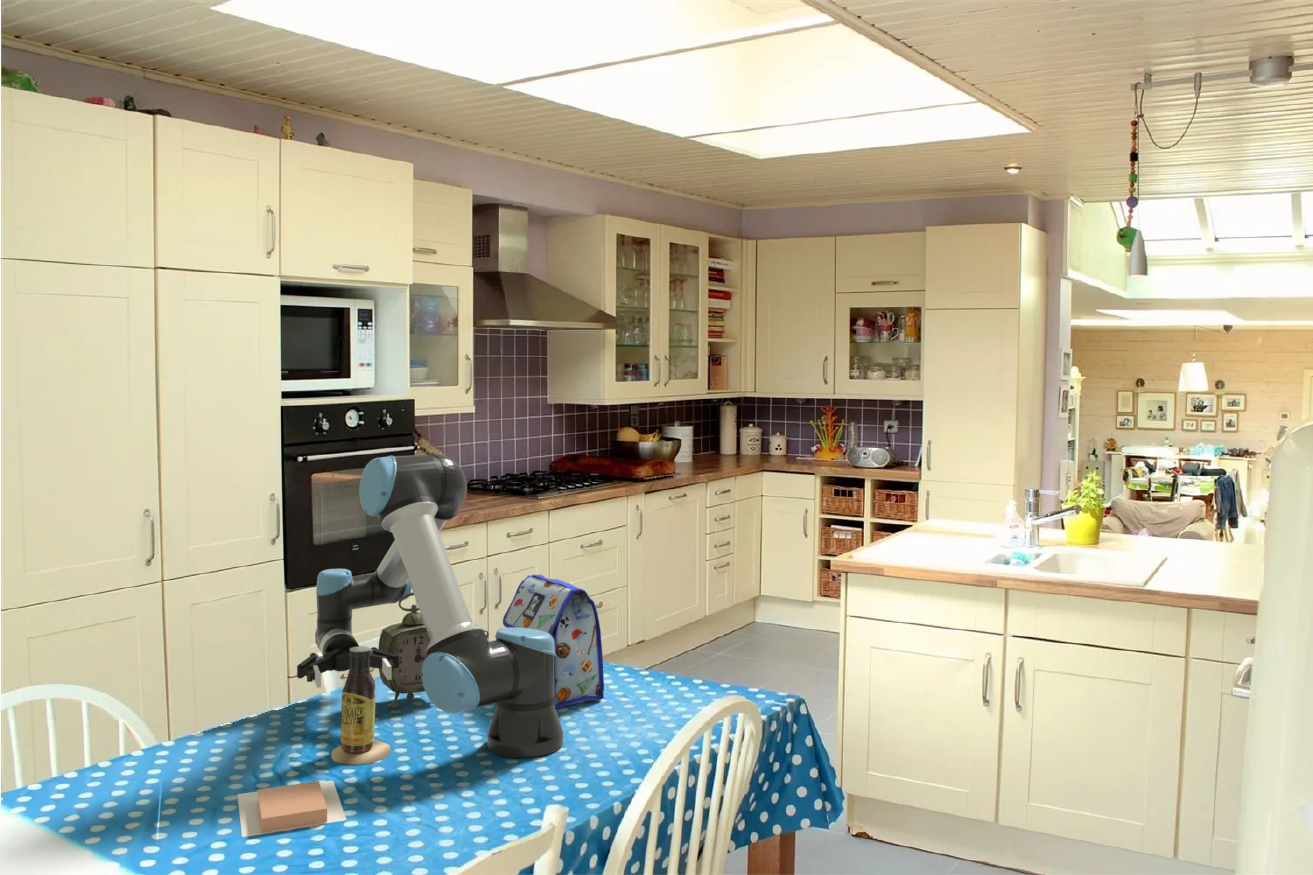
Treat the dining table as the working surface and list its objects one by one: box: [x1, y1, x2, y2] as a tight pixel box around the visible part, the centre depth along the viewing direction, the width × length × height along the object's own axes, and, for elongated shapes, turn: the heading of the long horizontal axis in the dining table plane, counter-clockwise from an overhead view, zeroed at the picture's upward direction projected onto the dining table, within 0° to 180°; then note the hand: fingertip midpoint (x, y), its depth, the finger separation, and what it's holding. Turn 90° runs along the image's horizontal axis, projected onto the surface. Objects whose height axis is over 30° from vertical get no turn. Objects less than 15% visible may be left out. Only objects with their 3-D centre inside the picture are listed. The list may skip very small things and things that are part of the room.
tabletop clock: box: [377, 592, 430, 710], centre depth 230 cm, size 14×9×25 cm, turn 123°
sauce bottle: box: [340, 645, 376, 753], centre depth 198 cm, size 7×6×20 cm
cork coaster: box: [331, 740, 392, 766], centre depth 198 cm, size 11×11×1 cm
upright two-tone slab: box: [256, 780, 327, 833], centre depth 171 cm, size 2×10×12 cm
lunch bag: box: [502, 574, 605, 709], centre depth 237 cm, size 23×17×27 cm
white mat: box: [237, 780, 347, 838], centre depth 174 cm, size 18×16×1 cm
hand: (354, 676), depth 203 cm, fingers open, 13 cm apart
